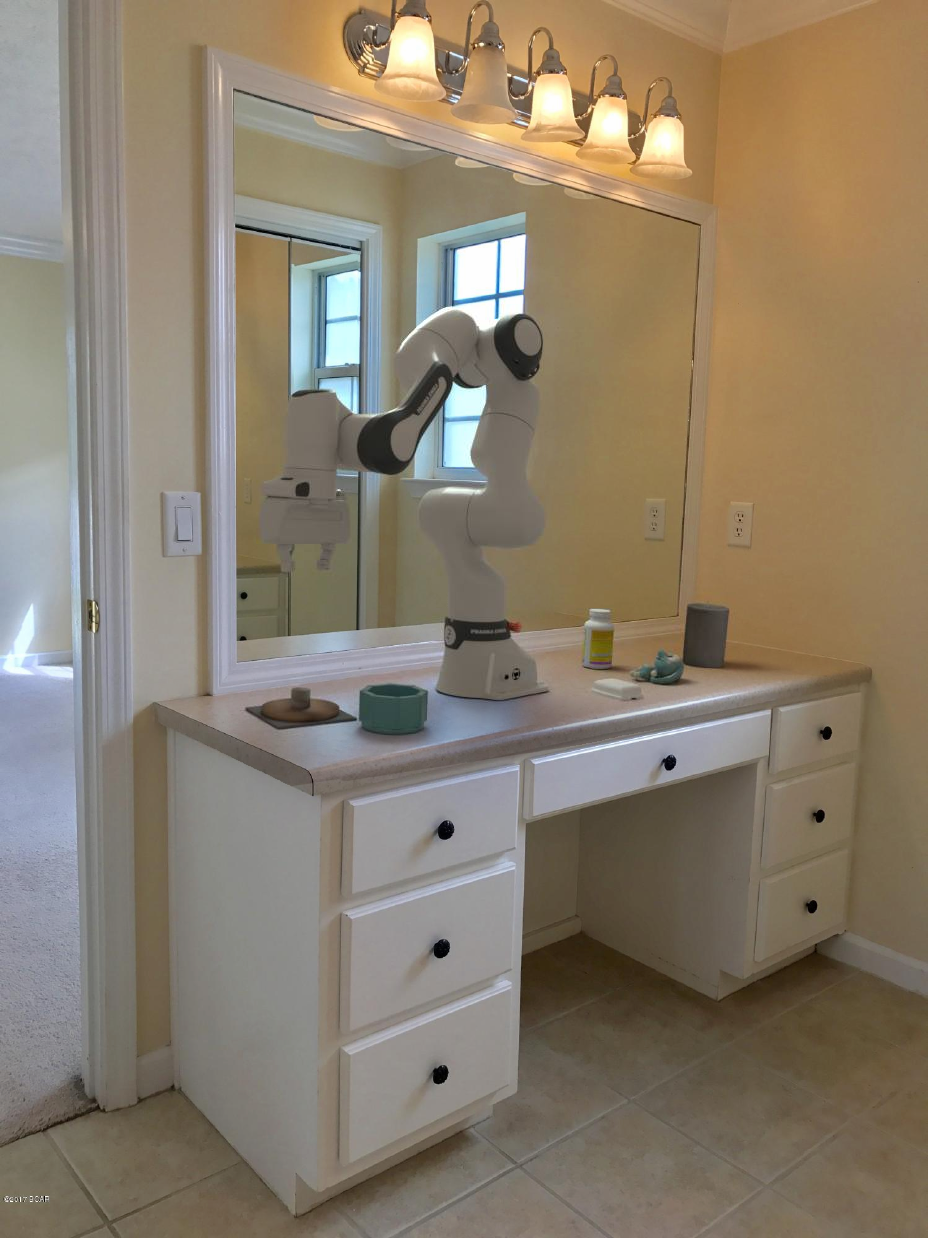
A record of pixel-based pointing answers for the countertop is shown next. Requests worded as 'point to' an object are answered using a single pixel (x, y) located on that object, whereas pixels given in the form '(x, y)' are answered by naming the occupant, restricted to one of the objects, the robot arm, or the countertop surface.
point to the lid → (300, 708)
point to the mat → (282, 724)
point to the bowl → (393, 708)
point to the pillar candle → (705, 635)
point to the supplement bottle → (598, 640)
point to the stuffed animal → (661, 669)
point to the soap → (617, 689)
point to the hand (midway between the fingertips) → (305, 570)
